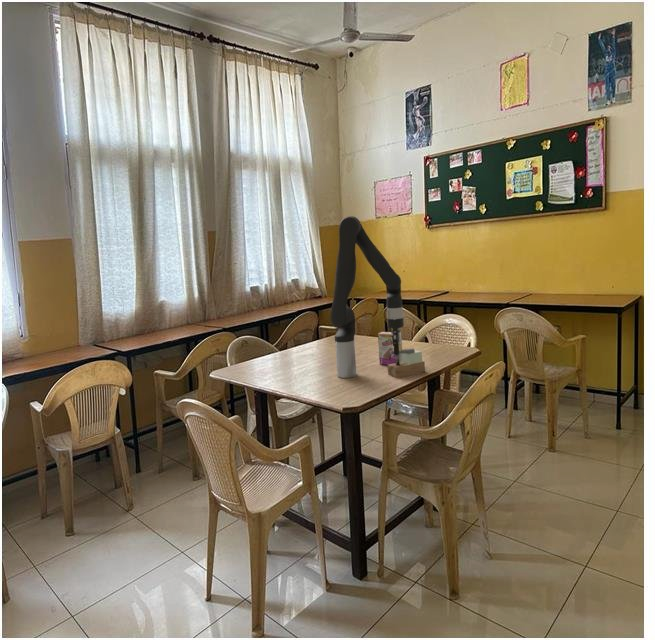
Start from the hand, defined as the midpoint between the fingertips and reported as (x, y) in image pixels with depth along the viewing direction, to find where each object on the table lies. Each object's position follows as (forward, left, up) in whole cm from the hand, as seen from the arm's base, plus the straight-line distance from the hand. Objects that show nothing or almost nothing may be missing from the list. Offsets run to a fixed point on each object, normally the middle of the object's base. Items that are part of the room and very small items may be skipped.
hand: (397, 353), depth 236 cm
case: (0, +4, -11) cm, 11 cm away
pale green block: (0, +8, -6) cm, 10 cm away
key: (+1, +2, -5) cm, 6 cm away
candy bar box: (-19, +7, -11) cm, 23 cm away
